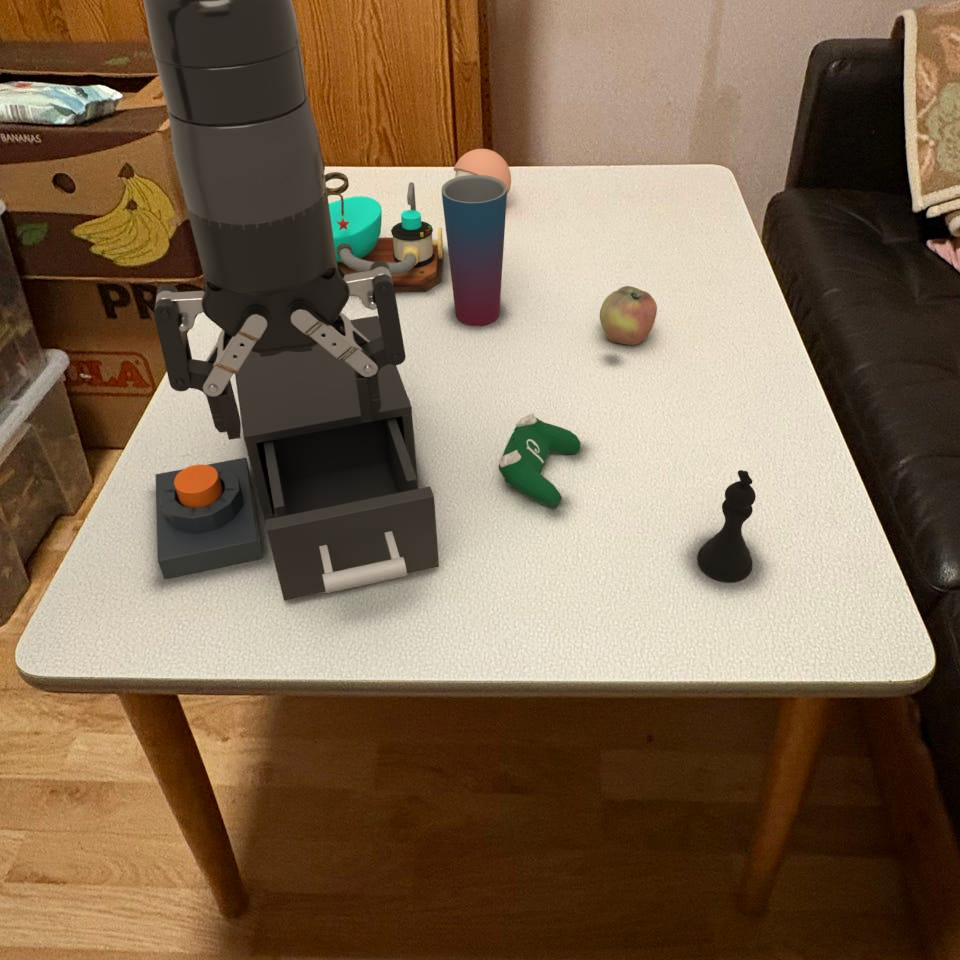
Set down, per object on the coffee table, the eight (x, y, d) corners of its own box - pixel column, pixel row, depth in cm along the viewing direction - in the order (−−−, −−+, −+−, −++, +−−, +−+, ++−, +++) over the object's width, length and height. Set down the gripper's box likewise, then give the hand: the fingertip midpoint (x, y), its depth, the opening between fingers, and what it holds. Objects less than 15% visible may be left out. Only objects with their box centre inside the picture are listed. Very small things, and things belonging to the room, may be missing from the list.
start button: (223, 503, 76) (219, 487, 75) (179, 512, 75) (174, 496, 74) (221, 475, 78) (216, 460, 77) (178, 484, 78) (173, 468, 77)
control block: (262, 558, 76) (253, 524, 73) (164, 579, 75) (151, 545, 72) (250, 475, 84) (242, 441, 81) (161, 492, 82) (150, 458, 80)
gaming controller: (557, 457, 88) (515, 415, 86) (586, 440, 85) (543, 397, 83) (532, 522, 81) (485, 478, 79) (562, 505, 79) (515, 460, 77)
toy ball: (441, 209, 124) (438, 152, 119) (478, 190, 128) (477, 134, 123) (486, 226, 120) (486, 168, 115) (523, 205, 124) (523, 148, 119)
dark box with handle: (452, 606, 71) (448, 535, 65) (290, 643, 68) (272, 572, 63) (403, 462, 83) (397, 393, 78) (266, 489, 81) (249, 419, 76)
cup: (440, 304, 106) (433, 179, 96) (496, 294, 107) (495, 170, 97) (457, 334, 101) (451, 207, 91) (515, 324, 102) (516, 196, 92)
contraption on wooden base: (441, 302, 106) (434, 177, 96) (287, 304, 106) (264, 179, 96) (445, 244, 116) (439, 126, 106) (305, 246, 117) (286, 128, 107)
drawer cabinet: (419, 492, 82) (411, 406, 75) (265, 523, 79) (243, 437, 73) (386, 398, 92) (377, 315, 86) (249, 423, 90) (229, 339, 83)
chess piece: (731, 537, 77) (753, 446, 70) (762, 573, 74) (788, 481, 67) (686, 552, 76) (704, 461, 69) (716, 589, 73) (737, 497, 66)
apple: (597, 359, 97) (601, 311, 93) (597, 319, 103) (601, 272, 99) (654, 362, 96) (661, 313, 92) (651, 321, 102) (657, 274, 98)
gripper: (110, 232, 45) (187, 475, 56) (394, 203, 47) (416, 444, 58) (125, 171, 51) (193, 403, 62) (380, 147, 53) (402, 377, 63)
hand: (301, 423), depth 60 cm, fingers open, 8 cm apart
